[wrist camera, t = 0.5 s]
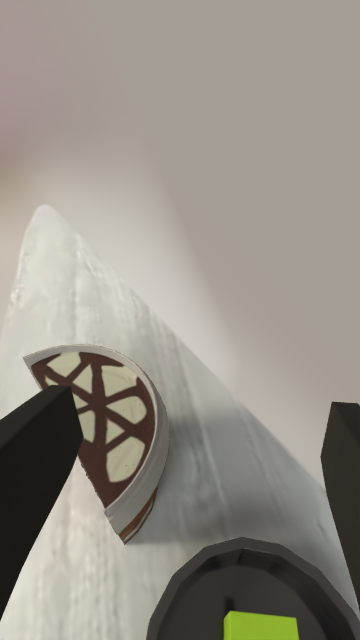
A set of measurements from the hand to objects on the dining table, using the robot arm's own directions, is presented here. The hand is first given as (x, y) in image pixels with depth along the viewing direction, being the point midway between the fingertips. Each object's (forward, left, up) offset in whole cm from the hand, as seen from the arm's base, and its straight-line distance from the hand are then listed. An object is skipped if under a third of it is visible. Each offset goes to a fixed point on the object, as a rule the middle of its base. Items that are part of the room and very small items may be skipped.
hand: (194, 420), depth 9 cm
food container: (+6, +5, -18) cm, 20 cm away
